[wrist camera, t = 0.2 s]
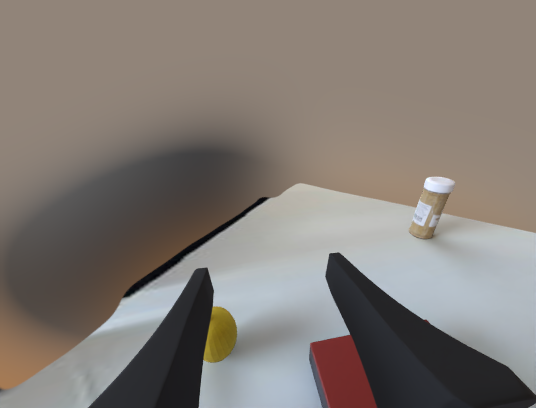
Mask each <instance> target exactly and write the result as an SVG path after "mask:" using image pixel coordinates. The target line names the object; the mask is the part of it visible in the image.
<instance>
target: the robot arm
mask: <svg viewBox="0 0 536 408" xmlns="http://www.w3.org/2000/svg"><path fill="white" fill-rule="evenodd" d="M325 277H326V280H327V283H328V286H329V289H330V292H331V294H332V296H333V298H334V301H335V303H336V305H337V307H338V309H339V311H340V313H341V315H342V317H343V320H344V322H345V324H346V326H347V328H348V330H349V332H350V334H351V337H352V339H353V341H354V344H355V347H356V349H357V352H358V354H359V357H360V360H361V362H362V365H363V368H364V371H365V374H366V376H367V379H368V382H369V385H370V388H371V391H372V394H373V397H374V400H375V403H376V406H377V408H528V407H530V406H532V405H534V404H535V403H536V395H535V394H534V393H533V392H532V391H531V390H530V389H529V388H528V387H527V386H526V385H525V384H524V383H523V382H522V381H521V380H520V379H519V378H518V377H517V376H516V375H515V374H514V373H513V371H511V370H510V369H509V368H508V367H507V366H505V365H503V364H501V363H499V362H497V361H496V360H494V359H492V358H490V357H488V356H486V355H484V354H482V353H480V352H478V351H476V350H474V349H472V348H471V347H469V346H467V345H465V344H463V343H462V342H460V341H458V340H456V339H455V338H453V337H451V336H449V335H448V334H446V333H444V332H443V331H441V330H439V329H437V328H436V327H434V326H433V325H431V324H430V323H428V322H426V321H425V320H423V319H422V318H420V317H419V316H417V315H416V314H414V313H412V312H411V311H410V310H408V309H407V308H405V307H404V306H403V305H401V304H400V303H398V302H397V301H396V300H394V299H393V298H391V297H390V296H389V295H388V294H386V293H385V292H384V291H383V290H381V289H380V288H379V287H378V286H376V285H375V284H374V283H373V282H372V281H370V280H369V279H368V278H367V277H366V276H365V275H363V274H362V273H361V272H360V271H359V270H358V269H357V268H356V267H355V266H353V265H352V264H351V263H350V262H349V261H348V260H347V259H346V258H345V257H344V256H343V255H341V254H340V253H330V254H329V259H328V265H327V270H326V276H325ZM213 294H214V290H213V286H212V283H211V279H210V275H209V272H208V268H199V269H196V270H195V271H194V273H193V275H192V276H191V278H190V280H189V282H188V283H187V285H186V287H185V288H184V290H183V292H182V293H181V295H180V296H179V298H178V299H177V301H176V303H175V304H174V306H173V307H172V309H171V310H170V312H169V313H168V314H167V316H166V317H165V319H164V320H163V321H162V323H161V324H160V326H159V327H158V328H157V330H156V331H155V332H154V334H153V335H152V336H151V338H150V339H149V340H148V341H147V343H146V344H145V345H144V346H143V348H142V349H141V350H140V351H139V352H138V354H137V355H136V356H135V357H134V358H133V360H132V361H131V362H130V363H129V364H128V365H127V367H126V368H125V369H124V370H123V371H122V372H121V373H120V375H119V376H118V377H117V378H116V379H115V380H114V381H113V382H112V383H111V384H110V385H109V386H108V387H107V388H106V390H105V391H104V392H103V393H102V394H101V395H100V396H99V397H98V398H97V399H96V400H95V401H94V402H93V403H92V404H91V405H90V406H89V407H88V408H198V407H199V396H200V385H201V375H202V366H203V359H204V352H205V347H206V341H207V336H208V331H209V325H210V320H211V314H212V307H213Z"/></svg>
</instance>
